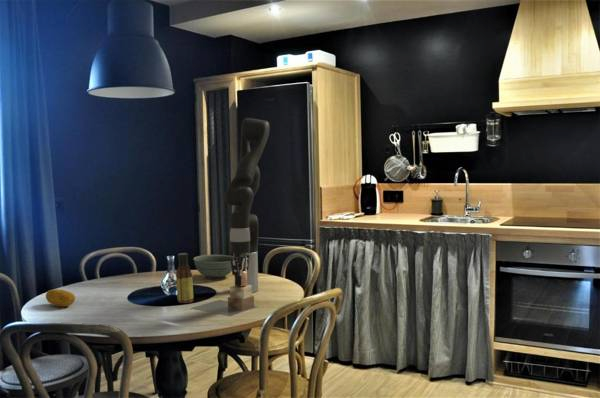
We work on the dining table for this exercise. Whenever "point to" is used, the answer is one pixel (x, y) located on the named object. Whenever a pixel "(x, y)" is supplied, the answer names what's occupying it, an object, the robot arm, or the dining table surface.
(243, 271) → the pink cube
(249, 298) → the walnut block
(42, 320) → the dining table surface
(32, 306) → the dining table surface
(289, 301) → the dining table surface
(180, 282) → the sauce bottle
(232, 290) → the birch block
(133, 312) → the dining table surface
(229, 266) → the bowl
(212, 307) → the slate board
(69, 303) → the potato
